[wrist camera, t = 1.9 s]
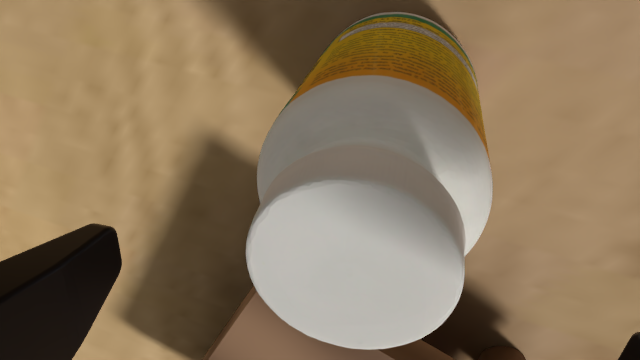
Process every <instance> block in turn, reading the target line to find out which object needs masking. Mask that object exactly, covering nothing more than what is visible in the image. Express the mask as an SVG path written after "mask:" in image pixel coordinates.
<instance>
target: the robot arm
mask: <svg viewBox="0 0 640 360" xmlns="http://www.w3.org/2000/svg"><path fill="white" fill-rule="evenodd" d="M121 266H122V259H121V254H120V248H119V243H118V237H117V233H116V231H115V229H114V228H112V227H110V226H106V225H101V224H89V225H86V226H84V227H82V228H79V229H77V230H75V231H72V232H70V233H67V234H65V235H63V236H60V237H58V238H56V239H53V240H51V241H48V242H46V243H44V244H41V245H39V246H37V247H34V248H32V249H29V250H27V251H25V252H22V253H20V254H18V255H15V256H13V257H10V258H8V259H6V260H3V261H1V262H0V360H72V358H73V357H74V355H75V354H76V352H77V351H78V349H79V347H80V346H81V344H82V343H83V341H84V339H85V337H86V335H87V334H88V332H89V330H90V328H91V326H92V324H93V322H94V321H95V319H96V317H97V315H98V313H99V311H100V309H101V307H102V305H103V304H104V302H105V300H106V298H107V296H108V294H109V292H110V290H111V288H112V286H113V285H114V283H115V281H116V279H117V277H118V275H119V273H120V270H121ZM618 360H640V332H637V333H635V334H633V335H632V337H631V338H630V340H629V341H628V343H627V345H626V347H625V348H624V350H623V352H622V353H621V355H620V357H619V359H618Z"/></svg>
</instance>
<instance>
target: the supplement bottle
mask: <svg viewBox="0 0 640 360" xmlns="http://www.w3.org/2000/svg"><path fill="white" fill-rule="evenodd" d="M257 188H258V195H259V200H260V206H259V208H258V210H257V212H256V214H255V216H254V218H253V221H252V223H251V226H250V229H249V232H248V236H247V241H246V262H247V268H248V271H249V274H250V278H251V280H252V282H253V284H254V286H255V288H256V290H257V292H258V293H259V295H260V296H261V298H262V299H263V300H264V302H265V303H266V304H267V305H268V306H269V307H270V308H271V309H272V310H273V311H274V312H275V313H276V314H277V315H278V316H279V317H280V318H281V319H282V320H284V321H285V322H286V323H287V324H289V325H290V326H292V327H293V328H295V329H297V330H299V331H301V332H302V333H304V334H306V335H307V336H310V337H313V338H315V339H318V340H320V341H323V342H326V343H330V344H334V345H337V346H341V347H346V348H352V349H366V350H372V349H386V348H392V347H397V346H401V345H405V344H408V343H411V342H414V341H416V340H419V339H421V338H423V337H425V336H426V335H428V334H430V333H431V332H432V331H434V330H436V329H437V328H438V327H439V326H440V325H442V324H443V322H444V321H445V320H446V319H447V318H448V317H449V315H450V314H451V313H452V311H453V310H454V308H455V307H456V305H457V303H458V301H459V299H460V296H461V293H462V289H463V284H464V276H465V261H464V257H465V256H466V254H467V253H468V252H469V251H470V250H471V249H472V247H473V246H474V245H475V243H476V242H477V240H478V239H479V237H480V235H481V234H482V232H483V229H484V227H485V224H486V222H487V219H488V216H489V212H490V208H491V203H492V190H493V182H492V172H491V165H490V159H489V154H488V148H487V142H486V136H485V131H484V125H483V119H482V111H481V106H480V100H479V93H478V86H477V80H476V76H475V72H474V69H473V66H472V63H471V61H470V59H469V57H468V55H467V53H466V51H465V50H464V49H463V47H462V46H461V44H460V43H459V42H458V41H457V39H456V38H455V37H454V36H453V35H451V34H450V33H449V32H448V31H447V30H446V29H445V28H443V27H442V26H440V25H439V24H437V23H436V22H434V21H432V20H430V19H428V18H425V17H422V16H419V15H416V14H411V13H405V12H384V13H378V14H374V15H370V16H368V17H365V18H363V19H361V20H359V21H357V22H355V23H354V24H352V25H350V26H349V27H348V28H346V29H345V30H344V31H342V32H341V33H340V34H339V35H338V36H337V37H336V38H335V39H334V40H333V41H332V42H331V44H330V45H329V46H328V47H327V48H326V50H325V51H324V53H323V54H322V55H321V56H320V58H319V60H318V61H317V63H316V64H315V65H314V67H313V68H312V70H311V71H310V72H309V74H308V75H307V76H306V78H305V79H304V81H303V83H302V84H301V85H300V86H299V88H298V89H297V91H296V92H295V94H294V95H293V96H292V98H291V99H290V100H289V102H288V103H287V104H286V106H285V107H284V109H283V110H282V111H281V113H280V114H279V116H278V117H277V119H276V120H275V122H274V123H273V125H272V127H271V129H270V130H269V132H268V134H267V136H266V139H265V141H264V143H263V146H262V149H261V152H260V156H259V161H258V168H257Z"/></svg>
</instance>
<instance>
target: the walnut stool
mask: <svg viewBox="0 0 640 360" xmlns="http://www.w3.org/2000/svg"><path fill="white" fill-rule="evenodd" d="M202 360H455V359H454V358H452V357H450V356H448V355H447V354H445V353H443V352H441V351H440V350H438V349H436V348H434V347H433V346H431V345H429V344H427V343H426V342H424V341H422V340H421V339H419V340H416V341H414V342H411V343H408V344H405V345H401V346H397V347H392V348H386V349H372V350H366V349H352V348H346V347H341V346H337V345H334V344H330V343H326V342H323V341H320V340H318V339H315V338H313V337H310V336H307V335H306V334H304V333H302V332H301V331H299V330H297V329H295V328H293V327H292V326H290V325H289V324H287V323H286V322H285V321H284V320H282V319H281V318H280V317H279V316H278V315H277V314H276V313H275V312H274V311H273V310H272V309H271V308H270V307H269V306H268V305H267V304H266V303H265V302H264V300H263V299H262V298H261V296H260V295H259V293H258V292H257V290H256V288H255V286H253V287H252V288H251V290H250V291H249V293H248V294H247V296H246V297H245V299H244V300H243V301H242V303H241V304H240V306H239V307H238V309H237V310H236V311H235V313H234V314H233V316H232V317H231V319H230V320H229V322H228V323H227V324H226V326H225V327H224V329H223V330H222V332H221V333H220V335H219V336H218V337H217V339H216V340H215V342H214V343H213V345H212V346H211V347H210V349H209V350H208V352H207V353H206V355H205V356H204V358H203V359H202ZM479 360H526V359H525V357H524V355H523V354H522V353H521V352H519V351H518V350H516V349H514V348H511V347H507V346H495V347H490V348H488V349H486V350H484V351H483V352H482V353H481V354H480V356H479Z"/></svg>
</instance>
